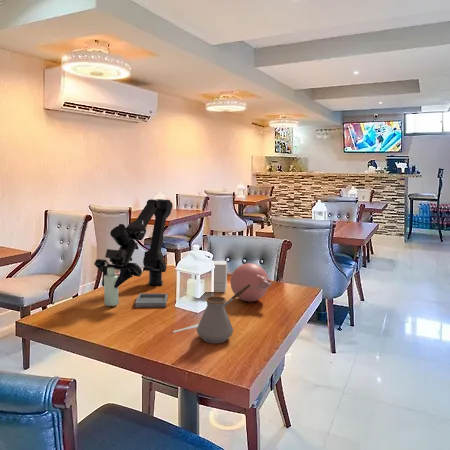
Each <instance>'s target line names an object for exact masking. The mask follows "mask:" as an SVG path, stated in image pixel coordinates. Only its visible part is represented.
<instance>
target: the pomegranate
mask: <svg viewBox="0 0 450 450" xmlns="http://www.w3.org/2000/svg"><path fill="white" fill-rule="evenodd" d="M271 281H272V280H271V279H270V278H269V277H268V274H267V273H266V271H265V269H264V268H263V267H261V266H260V265H258V264H255V263H251V262H247V263H243V264H241V265H239V266H238V267H236V268H235V269H234V271H233V272H232V274H231V276H230V287H231V291H232V292H233V294H234V295H235V294H236V293H237V292H238V291H240V290H242V289H243V288H244V287H246V286H247V285H249V284H250V285H251V286H252V287H253V289H252V287H251V286H250V287H249V288H250V289H252V290H250V289H249V288H247V290H245V291H244V292H243V293H242V294H241V295H239V296H238V297H237V298H238V299H240V300H241V301H244V302H247V301H248V302H249V303H250V302H251V303H252V302H256V301H258V300H260V299H261V298H263V297H264V296H265V295H266V293H267V291H268V289H269V288H270V287H272V285H273V283H272V282H271Z"/></svg>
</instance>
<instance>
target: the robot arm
mask: <svg viewBox="0 0 450 450" xmlns="http://www.w3.org/2000/svg"><path fill="white" fill-rule="evenodd" d="M172 209H173V203H172V201H171V200H170V199H162V198H159V199H158V198H157V199H153V198H151V199H150V198H149V199H147V201H146V204H145V206H144V207H143V209H142V210H141V211H140V213H139V215H138V216H137V218H136V219H135V220H133V221H132V222H130V223H129V224H128V225H127V226H125V224H123V223H119V224H118V226H114V228H113V229H111V230H110V232H109V233H110V236H111V238H112V239H113V240H114V242H115V243H116V245H118V246H119V248H118V249H109V248H107V249H106V251H105V256H104V257H105V258H107V259H109V261H108V260H106V259H103V258H97V259H95V261H94V263H93V265H94V266H95V267H96V268H97V269H98V271H99V272H101V273H102V281H101V285H102V287H104V275H107V268H108V267H114V270H118V271H119V275H118V279H117V281H116V283H115V286H114V287H115V288H117V287H118V288H119V287H120V286H121V285H122V284H124V283H125V282H126V281H128V280H129V279H130V278H133V276H134V277H139V278H140V277H141V275H142V273H143V270H142V268H141V267H140V265H139V264H138V263H136V262H132V261H133V257H132V256H133V255H134V252H135V250H139V245H138V242H136V241H142V240H143V239H144V237H145V236H146V233H147V226H148V224H149V223H150V221H151V220H152V219H153V216H154V223H153V230H152V235H151V241H150V246H149V249H148V250H146V251H144V255H143V259H142V264H143V267H144V268H143V269H144V272H148V282H147V286H148V287H149V286H161V287H163V283H164V280H162V279H163V278H162V277H163V273H166V271H167V264H166V263H165V261H164V255H163V252H162V244H163V240H164V239H163V238H164V234H165V227H166V221H167V219H168V217H170V215H171V213H172ZM109 262H110V263H109Z"/></svg>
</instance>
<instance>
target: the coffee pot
mask: <svg viewBox="0 0 450 450" xmlns="http://www.w3.org/2000/svg"><path fill="white" fill-rule="evenodd" d="M250 286H251V285H250V284H249V285H247V286H246V287H244V288H243V289H242V290H240V291H238V292H237V293H236V294H234V295H233V296H231V297H230V298H229V299H228V300H226V297H223V296H220V295H219V296H218V295H213V296H212V295H211V296H207V297H206V298H205V302H206V304H207V306H206V307H205V310H204V312H203V314H202V317H201V319H200V321H199V323H198V324H199V325H198V327H197V328H196V332H197V335H198V336H199V337H200V338H201V339H202V340H203V341H204V342H206V343H209V344H221V343H222V344H223V343H224V342H227V340H228V339H229V338H230V337H231V336H232V334H233V333H234V329H233V326H232V323H231V320H230V318H229V315H228V313H227V311H226V308H225V307H226V306H227V305H228V304H230V303H231V302H232V301H233V300H235V299H236V298H238V296H239V295H241V294H242V293H243V292H244V291H245V290H247V288H249V287H250ZM251 287H252V286H251ZM249 289H250V288H249ZM252 289H253V287H252ZM252 289H250V290H252Z"/></svg>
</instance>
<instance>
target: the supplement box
mask: <svg viewBox="0 0 450 450" xmlns="http://www.w3.org/2000/svg"><path fill="white" fill-rule="evenodd" d="M212 261H213V263H214V265H215V269H214V292H225V293H226V292H227V289H226V288H227V287H228V286H227V285H228V284H227V282H228V280H227V279H228V261H227V260H212ZM214 292H213V293H214Z"/></svg>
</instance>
